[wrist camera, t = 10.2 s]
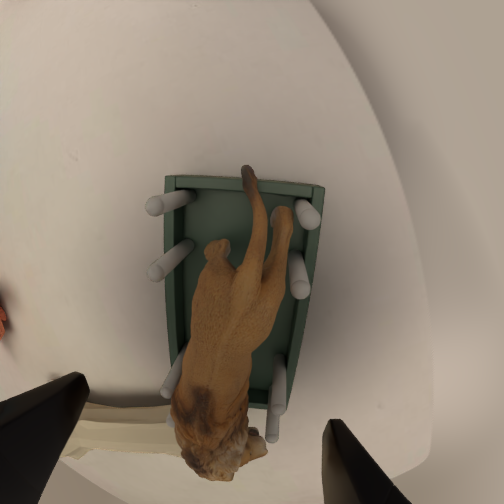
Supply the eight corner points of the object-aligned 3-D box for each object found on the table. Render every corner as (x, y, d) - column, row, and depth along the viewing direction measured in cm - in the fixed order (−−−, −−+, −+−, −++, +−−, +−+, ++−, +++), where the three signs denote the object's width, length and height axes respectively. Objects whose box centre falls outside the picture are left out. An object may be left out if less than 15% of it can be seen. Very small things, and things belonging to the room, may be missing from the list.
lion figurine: (271, 380, 19) (262, 494, 11) (199, 371, 19) (167, 478, 11) (301, 167, 13) (339, 247, 5) (189, 160, 13) (65, 223, 5)
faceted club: (29, 368, 22) (227, 347, 19) (74, 409, 26) (260, 400, 23) (3, 428, 15) (224, 464, 12) (57, 464, 19) (265, 487, 16)
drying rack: (318, 185, 15) (342, 193, 9) (286, 388, 20) (285, 452, 14) (180, 174, 16) (129, 179, 10) (183, 374, 20) (157, 432, 14)
